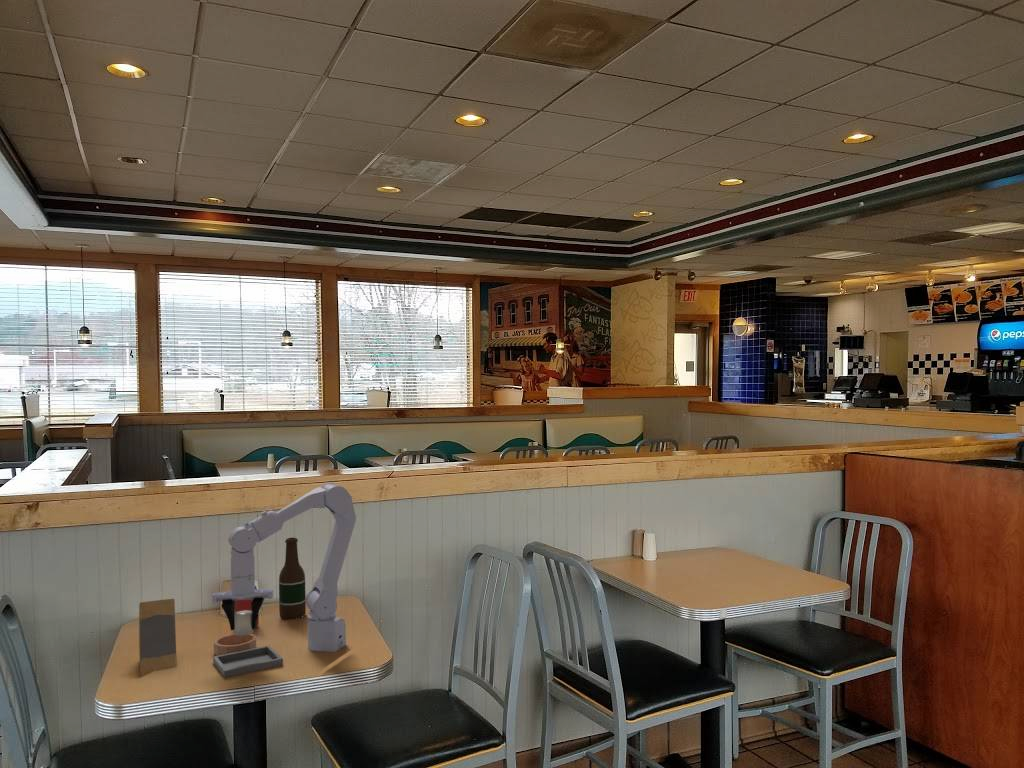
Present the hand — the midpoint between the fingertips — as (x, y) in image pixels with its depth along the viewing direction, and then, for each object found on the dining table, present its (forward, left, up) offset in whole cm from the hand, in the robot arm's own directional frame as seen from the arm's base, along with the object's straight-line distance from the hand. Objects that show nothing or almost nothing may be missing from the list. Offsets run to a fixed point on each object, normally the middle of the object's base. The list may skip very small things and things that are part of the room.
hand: (243, 628), depth 190 cm
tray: (-3, +2, -9) cm, 10 cm away
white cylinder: (0, 0, -1) cm, 1 cm away
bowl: (+7, -6, -9) cm, 13 cm away
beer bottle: (+11, -39, -9) cm, 41 cm away
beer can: (+18, -26, -9) cm, 32 cm away
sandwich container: (+21, +6, -9) cm, 24 cm away
